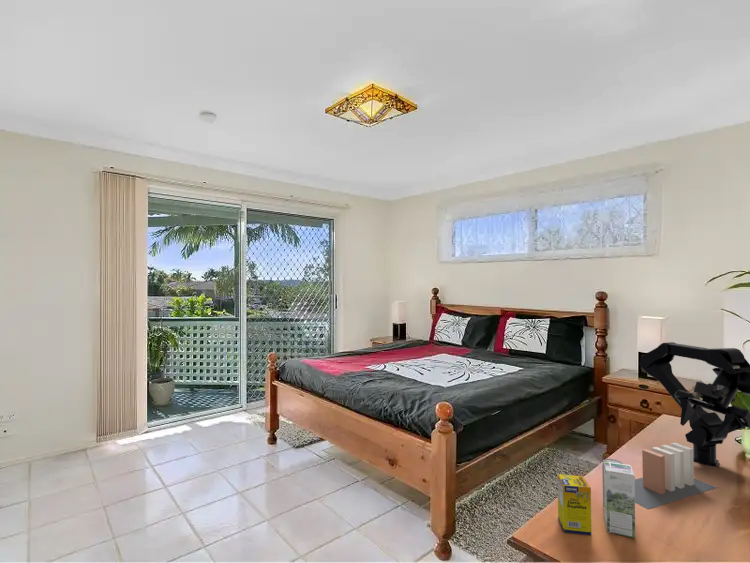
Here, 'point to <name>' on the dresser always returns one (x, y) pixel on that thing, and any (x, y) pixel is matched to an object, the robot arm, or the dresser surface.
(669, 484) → the domino
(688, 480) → the domino
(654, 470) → the end domino
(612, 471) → the syrup box
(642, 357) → the robot arm
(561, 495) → the supplement box
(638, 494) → the domino mat
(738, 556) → the dresser surface
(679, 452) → the domino
